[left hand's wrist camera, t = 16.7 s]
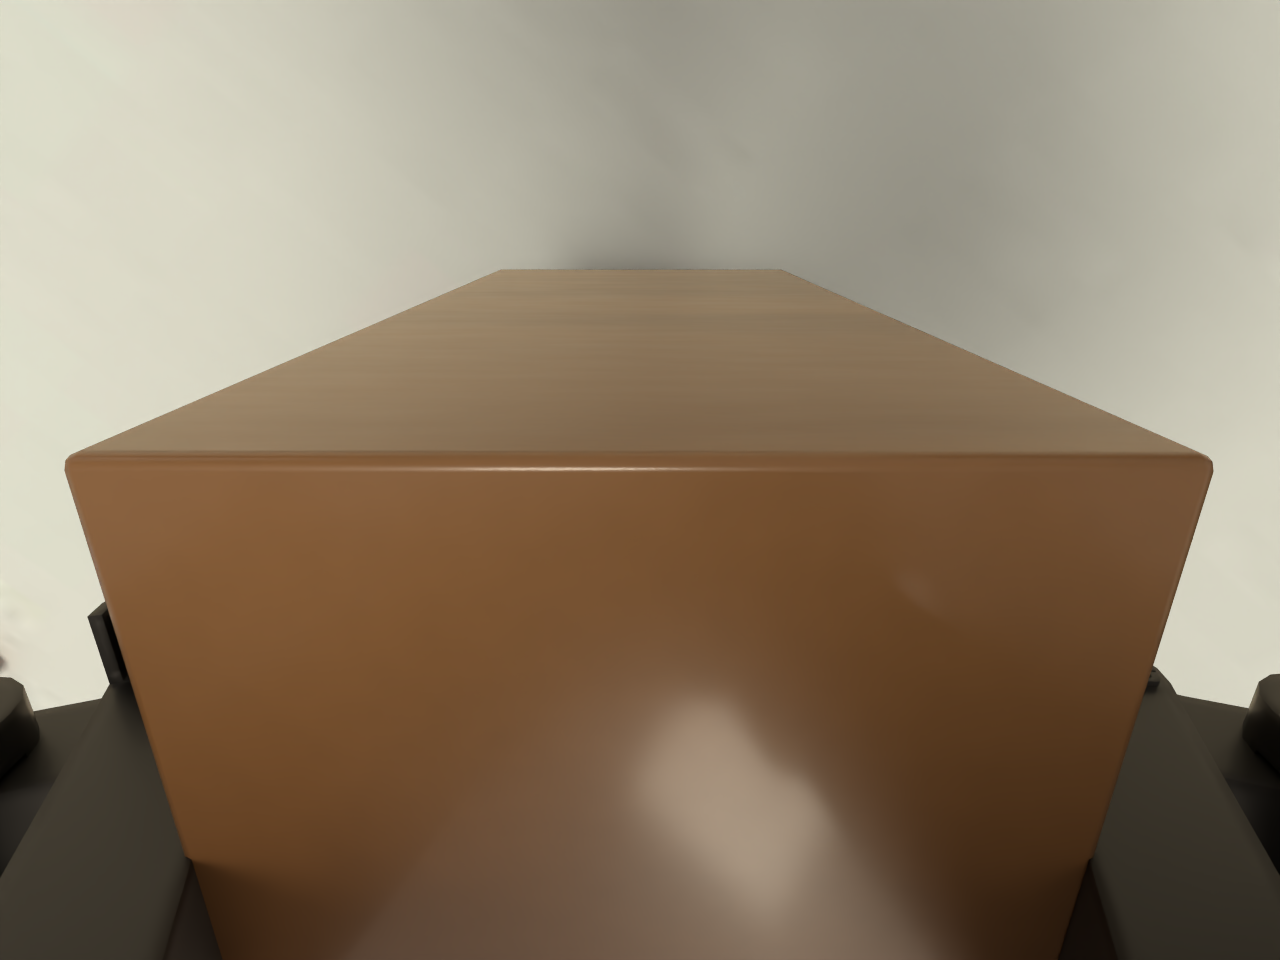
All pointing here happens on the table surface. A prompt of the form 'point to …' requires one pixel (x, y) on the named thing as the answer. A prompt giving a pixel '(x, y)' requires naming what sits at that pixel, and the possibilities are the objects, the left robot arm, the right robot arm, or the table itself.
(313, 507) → the box
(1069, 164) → the table surface
